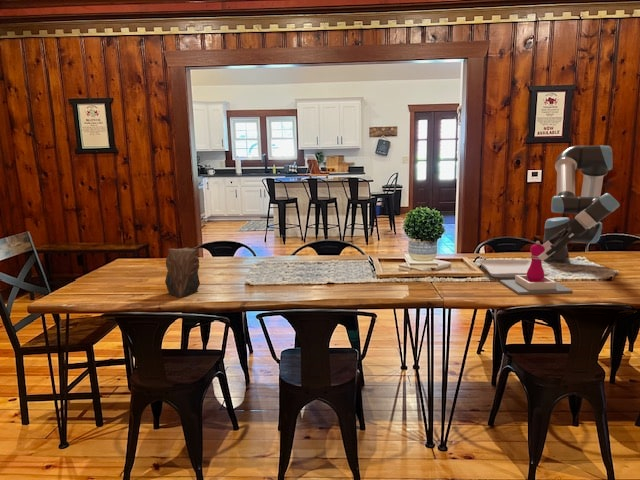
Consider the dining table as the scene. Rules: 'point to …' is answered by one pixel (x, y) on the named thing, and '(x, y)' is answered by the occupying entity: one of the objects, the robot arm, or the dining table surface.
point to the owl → (182, 272)
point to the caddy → (534, 286)
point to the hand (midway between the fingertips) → (539, 255)
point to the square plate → (507, 267)
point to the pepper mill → (536, 264)
